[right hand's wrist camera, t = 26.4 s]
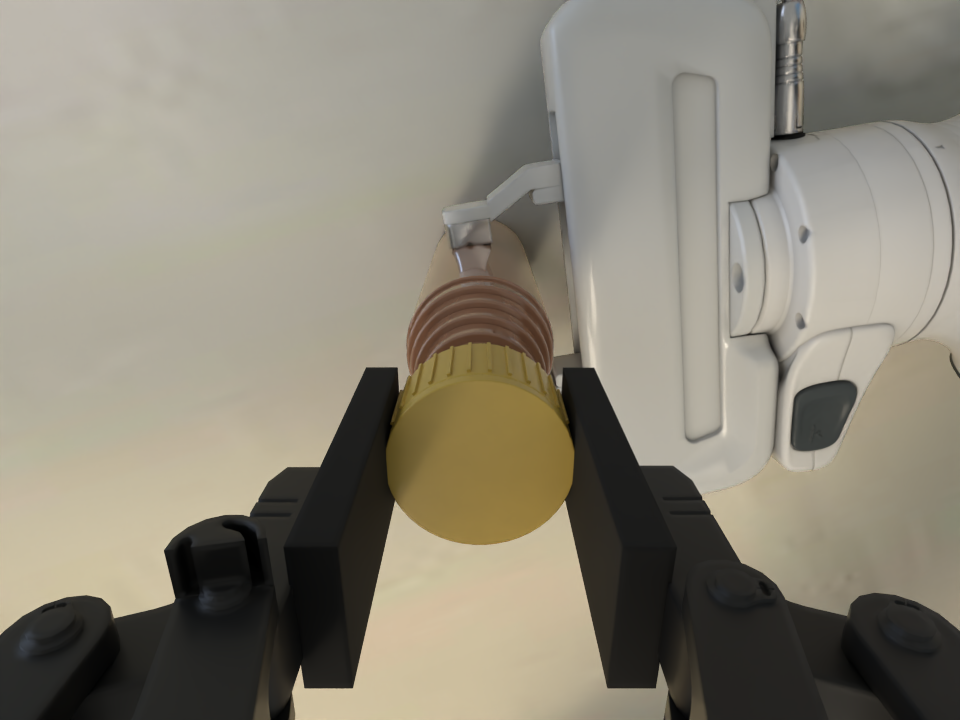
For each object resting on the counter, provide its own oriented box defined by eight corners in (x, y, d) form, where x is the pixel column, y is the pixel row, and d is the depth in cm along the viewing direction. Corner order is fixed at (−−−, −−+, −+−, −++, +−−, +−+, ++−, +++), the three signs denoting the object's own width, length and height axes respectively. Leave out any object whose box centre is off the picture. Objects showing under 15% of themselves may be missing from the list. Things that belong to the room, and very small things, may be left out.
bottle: (495, 325, 32) (512, 563, 15) (416, 280, 31) (337, 476, 14) (544, 249, 30) (628, 415, 13) (463, 199, 29) (441, 306, 12)
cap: (600, 412, 15) (619, 460, 13) (486, 518, 16) (487, 577, 14) (472, 304, 14) (471, 336, 12) (361, 425, 15) (342, 475, 13)
